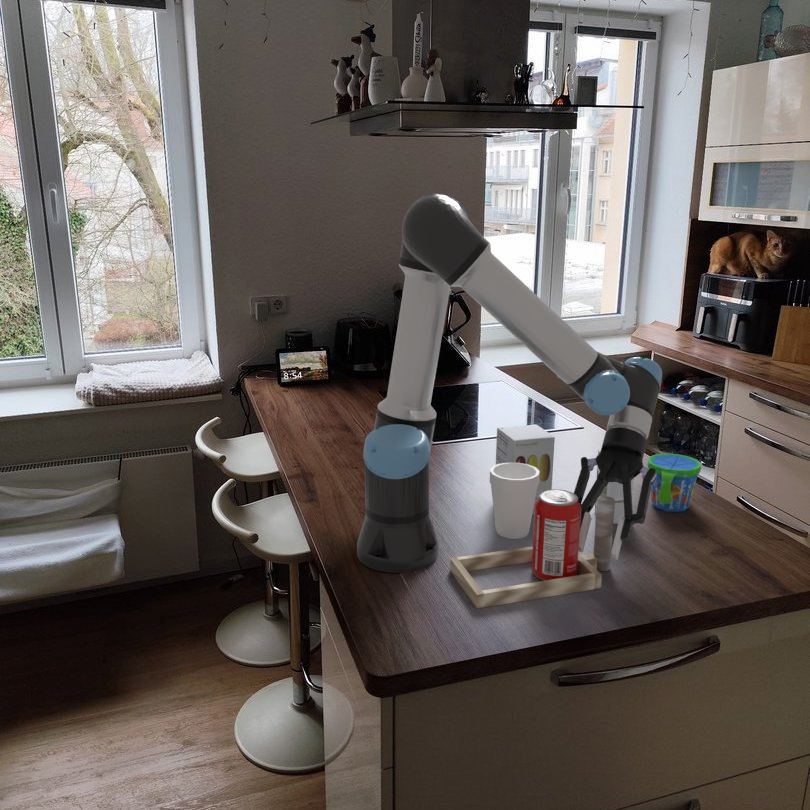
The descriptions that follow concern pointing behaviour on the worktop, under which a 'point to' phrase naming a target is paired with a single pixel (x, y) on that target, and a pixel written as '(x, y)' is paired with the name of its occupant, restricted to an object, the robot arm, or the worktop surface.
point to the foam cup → (513, 497)
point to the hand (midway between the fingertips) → (596, 552)
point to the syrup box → (615, 497)
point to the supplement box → (528, 451)
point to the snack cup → (673, 481)
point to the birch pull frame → (535, 590)
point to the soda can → (556, 535)
